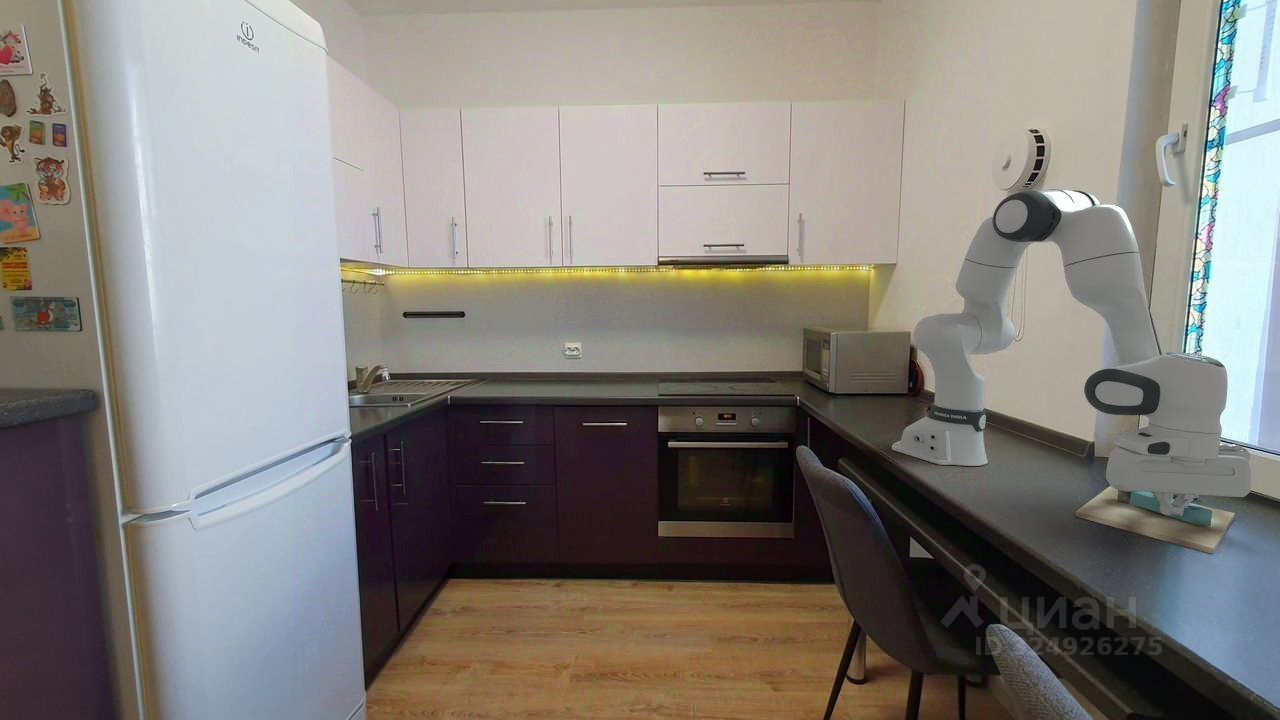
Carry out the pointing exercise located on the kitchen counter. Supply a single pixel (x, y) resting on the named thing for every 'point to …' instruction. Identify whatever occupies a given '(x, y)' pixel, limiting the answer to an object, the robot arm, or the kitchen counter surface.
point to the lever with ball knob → (1151, 502)
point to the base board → (1155, 521)
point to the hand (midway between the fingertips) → (1171, 514)
